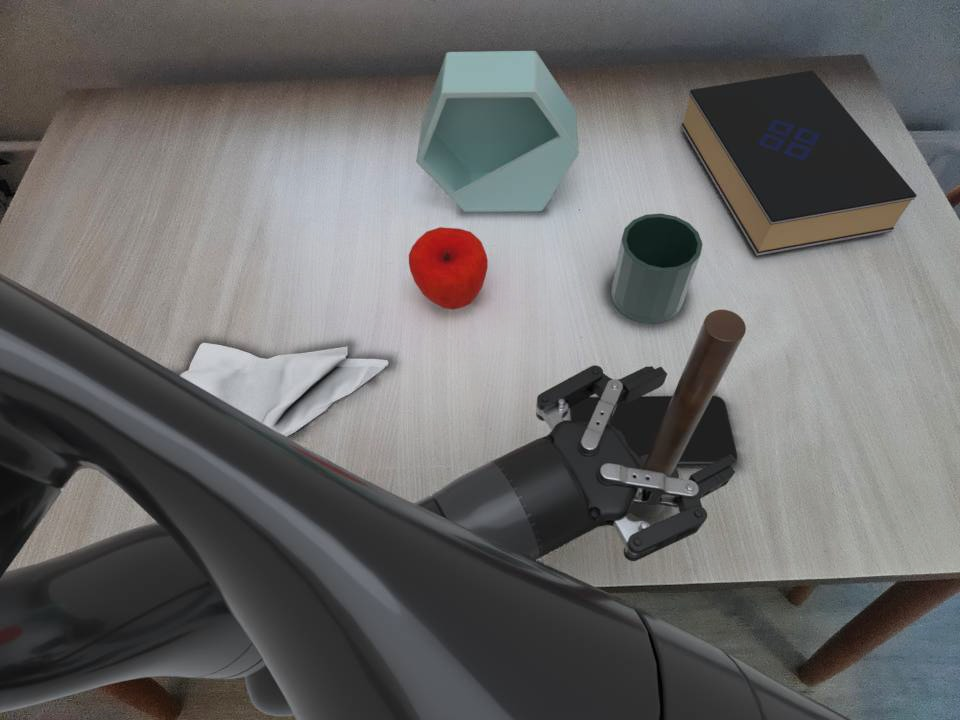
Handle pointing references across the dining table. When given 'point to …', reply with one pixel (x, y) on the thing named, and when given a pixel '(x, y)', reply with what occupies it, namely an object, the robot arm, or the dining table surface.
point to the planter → (497, 131)
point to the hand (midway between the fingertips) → (695, 417)
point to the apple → (448, 266)
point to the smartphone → (646, 418)
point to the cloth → (280, 382)
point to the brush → (692, 396)
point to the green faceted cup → (655, 267)
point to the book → (793, 163)
